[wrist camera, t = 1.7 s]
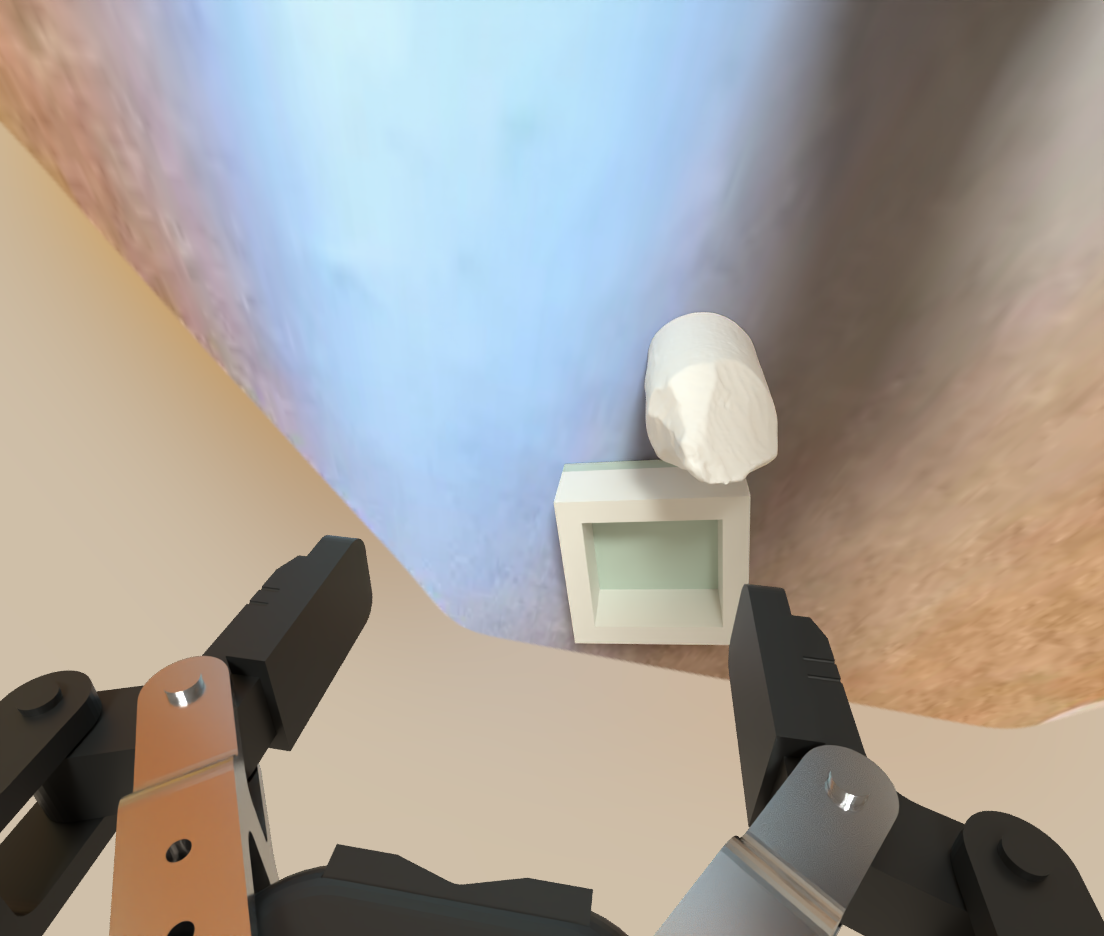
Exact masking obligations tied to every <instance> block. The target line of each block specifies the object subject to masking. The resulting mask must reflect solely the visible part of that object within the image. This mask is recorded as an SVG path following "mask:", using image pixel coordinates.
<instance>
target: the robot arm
mask: <svg viewBox="0 0 1104 936" xmlns="http://www.w3.org/2000/svg"><path fill="white" fill-rule="evenodd" d="M371 606H372V589H371V583H370V576H369V570H368V563H367V556H366V550H365V545H364V543H363V541H362V540H361V539H357V538H348V537H339V536H330V535H326V536H324V537H323V538H322V539H321V540H320V541H319V542H318V543H317V545H316V546H315V547H314V548H313V550H312V551H311V552H310V553H309V554H308V556H297V557H296V558H294V559H293V560H291V561H289V562H288V563H286V564H284V565H283V566H281V567H280V568H278V569H277V570H276V571H275V572H274V573H273V574H272V575H271V577H270V578H269V579H268V580H267V581H266V582H265V584H264V585H263V586H262V589H261V590H259V591H258V592H257V593H256V594H255V595H254V596H253V597H252V598H251V600H250V603H249V604H246V605H245V607H244V608H243V609H242V610H241V611H240V612H239V614H238V615H237V616H236V617H235V618H234V619H233V621H232V622H231V623H230V624H229V625H228V626H227V628H226V629H225V630H224V631H223V632H222V633H221V634H220V636H219V637H218V638H217V639H216V640H215V641H214V643H213V644H212V645H211V646H210V647H209V648H208V650H207V651H206V652H205V653H204V654H203V655H202V656H195V657H190V658H186V659H182V660H180V661H177V662H175V663H172V664H170V665H168V666H166V667H165V668H163V669H161V670H160V671H159V672H157V673H156V674H155V675H153V676H152V677H151V678H150V679H149V680H148V681H147V682H146V684H145V685H144V686H137V687H130V688H121V689H113V690H106V691H98V692H96V690H95V688H94V686H93V684H92V682H91V680H90V679H89V677H88V676H87V675H86V674H84V673H81V672H78V671H59V672H54V673H50V674H47V675H43V676H40V677H38V678H35V679H33V680H31V681H29V682H27V683H25V684H23V685H21V686H20V687H18V688H17V689H15V690H14V691H12V692H11V693H9V694H8V695H7V696H6V697H5V698H3V699H2V700H1V701H0V832H1V831H2V830H3V829H4V828H5V827H6V825H7V824H8V823H9V822H10V821H11V820H12V819H13V818H14V816H15V815H16V814H17V813H18V812H19V811H20V809H21V808H22V807H23V806H24V805H25V804H26V803H27V801H28V800H29V799H30V798H31V797H32V796H33V795H34V797H35V799H36V800H37V802H36V803H35V804H34V806H33V807H32V808H31V809H30V810H29V812H28V813H27V814H26V815H25V816H24V817H23V819H22V820H21V821H20V822H19V823H18V824H17V826H16V827H15V828H14V829H13V830H12V831H11V833H10V834H9V835H8V836H7V837H6V838H5V840H4V841H3V842H2V843H1V844H0V936H42V935H43V934H44V932H45V931H46V930H47V928H48V927H49V925H50V924H51V922H52V921H53V920H54V918H55V917H56V915H57V914H58V913H59V911H60V910H61V908H62V907H63V905H64V904H65V903H66V901H67V900H68V898H69V897H70V896H71V894H72V893H73V891H74V890H75V889H76V887H77V886H78V884H79V883H80V882H81V880H82V879H83V877H84V876H85V874H86V873H87V872H88V870H89V869H90V867H91V866H92V864H93V863H94V862H95V860H96V859H97V857H98V856H99V855H100V853H101V852H102V850H103V849H104V848H105V846H106V845H107V843H108V842H109V840H110V839H111V838H112V836H113V835H114V833H115V832H116V842H115V857H114V872H113V887H112V901H111V916H110V931H109V936H628V935H627V934H626V933H625V932H623V931H622V930H621V929H620V928H619V927H617V926H616V925H614V924H613V923H611V922H610V921H609V920H607V919H606V918H604V917H602V916H600V915H598V914H596V913H594V912H592V911H591V903H592V893H593V890H592V889H587V888H582V887H576V886H570V885H565V884H559V883H554V882H548V881H542V880H536V879H531V878H523V879H513V880H502V881H493V882H483V883H475V884H466V885H465V884H464V885H459V884H454V883H451V882H449V881H447V880H445V879H443V878H441V877H439V876H437V875H435V874H434V873H432V872H429V871H428V870H426V869H424V868H422V867H420V866H418V865H416V864H414V863H412V862H410V861H408V860H406V859H404V858H402V857H401V856H399V855H396V854H390V853H384V852H379V851H373V850H368V849H362V848H356V847H350V846H345V845H339V844H337V845H336V847H335V850H334V852H333V854H332V856H331V858H330V861H329V863H328V865H327V866H320V867H316V868H312V869H308V870H304V871H301V872H298V873H295V874H293V875H290V876H287V877H285V878H283V879H281V880H279V877H278V873H277V869H276V865H275V860H274V855H273V849H272V842H271V835H270V828H269V822H268V815H267V807H266V801H265V794H264V787H263V780H262V773H261V768H260V765H259V762H260V760H261V758H262V757H263V755H264V754H265V752H266V750H267V749H268V748H273V749H280V750H286V751H291V749H292V748H293V746H294V744H295V743H296V741H297V739H298V738H299V736H300V734H301V732H302V731H303V729H304V727H305V726H306V724H307V722H308V721H309V719H310V717H311V716H312V714H313V712H314V710H315V709H316V707H317V705H318V704H319V702H320V700H321V699H322V697H323V695H324V694H325V692H326V690H327V688H328V687H329V685H330V683H331V682H332V680H333V678H334V677H335V675H336V673H337V671H338V669H339V668H340V666H341V665H342V663H343V661H344V660H345V658H346V656H347V655H348V653H349V651H350V649H351V648H352V646H353V644H354V643H355V641H356V639H357V638H358V636H359V634H360V633H361V631H362V629H363V627H364V626H365V624H366V622H367V620H368V618H369V615H370V611H371ZM834 661H835V660H834V657H833V654H832V651H831V648H830V644H829V641H828V638H827V637H826V636H825V635H824V633H823V632H822V631H821V630H820V629H819V628H818V626H817V625H816V624H815V623H814V622H813V621H812V619H811V618H810V617H801V616H793V615H791V611H790V608H789V604H788V600H787V597H786V593H785V591H784V589H783V588H777V587H768V586H759V585H751V584H744V585H743V587H742V590H741V594H740V599H739V603H738V608H737V612H736V616H735V621H734V625H733V630H732V634H731V639H730V645H729V660H728V663H729V676H730V684H731V691H732V699H733V707H734V716H735V723H736V731H737V739H738V747H739V754H740V762H741V771H742V778H743V786H744V794H745V802H746V810H747V818H748V825H749V827H750V828H749V829H748V831H747V832H746V833H745V834H744V835H743V836H742V837H741V838H739V837H738V836H734V837H732V838H731V839H730V840H729V841H728V842H727V843H726V844H725V845H724V846H723V848H722V849H721V850H720V852H719V853H718V854H717V855H716V857H715V858H714V859H713V860H712V862H711V863H710V864H709V866H708V867H707V868H706V869H705V871H704V872H703V873H702V875H701V876H700V877H699V878H698V880H697V881H696V882H695V884H694V885H693V886H692V887H691V889H690V890H689V891H688V893H687V894H686V895H685V897H684V898H683V899H682V901H681V902H680V903H679V904H678V905H677V907H676V908H675V909H674V911H673V912H672V913H671V914H670V916H669V917H668V918H667V920H666V921H665V922H664V923H663V925H662V926H661V927H660V928H659V930H658V931H657V932H656V934H655V935H654V936H837V934H838V933H839V931H840V929H841V927H842V925H845V926H847V927H849V928H851V929H853V930H855V931H856V932H858V933H860V934H862V935H864V936H1104V921H1103V919H1102V917H1101V915H1100V913H1099V911H1098V909H1097V907H1096V905H1095V903H1094V901H1093V899H1092V897H1091V895H1090V893H1089V891H1088V890H1087V888H1086V885H1085V883H1084V881H1083V879H1082V878H1081V876H1080V873H1079V872H1078V870H1077V868H1076V866H1075V865H1074V863H1073V862H1072V861H1071V859H1070V858H1069V856H1068V855H1067V854H1066V853H1065V852H1064V851H1063V849H1061V847H1060V846H1059V845H1058V844H1057V843H1056V842H1055V841H1053V840H1052V839H1051V838H1050V837H1049V836H1048V835H1046V834H1045V833H1043V832H1042V831H1041V830H1040V829H1038V828H1036V827H1035V826H1033V825H1032V824H1030V823H1028V822H1026V821H1024V820H1022V819H1020V818H1018V817H1015V816H1012V815H1010V814H1006V813H1002V812H997V811H982V812H978V813H976V814H974V815H972V816H971V817H970V818H969V819H968V820H967V821H966V823H965V824H963V823H960V822H958V821H956V820H953V819H951V818H949V817H946V816H944V815H942V814H939V813H937V812H935V811H932V810H930V809H928V808H925V807H923V806H921V805H919V804H916V803H914V802H912V801H910V800H908V799H907V798H905V797H904V796H902V795H901V794H899V793H898V792H897V791H896V790H895V788H894V786H893V784H892V782H891V781H890V779H889V778H888V776H887V775H886V774H885V773H884V772H883V771H882V769H880V767H879V766H877V765H876V764H875V763H874V762H873V761H871V760H870V759H868V758H867V756H866V754H865V751H864V748H863V745H862V742H861V739H860V736H859V733H858V730H857V727H856V724H855V721H854V718H853V715H852V712H851V709H850V705H849V702H848V699H847V696H846V693H845V690H844V687H843V684H842V683H841V682H840V679H841V678H840V675H839V672H838V669H837V666H836V665H835V664H834Z"/></svg>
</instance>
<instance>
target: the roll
mask: <svg viewBox="0 0 1104 936" xmlns="http://www.w3.org/2000/svg"><path fill="white" fill-rule="evenodd" d="M644 388H645V393H646V428H647V433H648V437H649V440H650V442H651V444H652V447H653V448H654V450H655V452H656V454H657V456H658V457H659V458H660V459H661V460H663V461H665V462H668V463H670V464H673V465H675V466H678V467H679V468H681V469H685V470H687V471H688V472H689V473H690V474H691V475H692V476H693V477H695V478H696V479H697V480H698V481H700V482H705V483H707V484H718V483H723V484H725V485H726V484H728V483H730V482H739V481H742V480H744V479H745V478H746V476H747V475H748V474H749V473H750V472H752V471H755V470H756V469H758V468H760V467H763V466H765V465H767V464H768V463H770V462H771V461H772V460H774V459H775V458H776V456H777V453H778V429H777V427H778V420H777V414H776V410H775V406H774V403H773V399H772V397H771V394H770V391H769V388H768V385H767V382H766V379H765V377H764V374H763V371H762V368H761V366H760V363H759V360H758V358H757V354H756V351H755V348H754V346H753V343H752V341H751V339H750V337H749V336H748V335H747V334H746V333H745V331H744V330H743V329H741V328H740V327H739V326H738V325H737V324H736V323H735V322H734V321H732V320H730V319H729V318H727V317H725V316H722V315H719V314H716V313H708V312H699V313H690V314H687V315H684V316H680V317H678V318H676V319H674V320H672V321H670V322H669V323H667V324H666V325H665V326H663V327H662V328H661V329H660V330H659V331H658V332H657V333H656V334H655V336H654V337H653V339H652V341H651V343H650V347H649V350H648V364H647V370H646V376H645V385H644Z"/></svg>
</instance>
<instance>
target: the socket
mask: <svg viewBox="0 0 1104 936" xmlns="http://www.w3.org/2000/svg"><path fill="white" fill-rule="evenodd" d="M750 497H751V496H750V492H749V488H748V484H747V480H746V478H745V479H744V480H742V481H739V482H730V483H728V484H726V485H725V484H723V483H718V484H707V483H705V482H700V481H698V480H697V479H696V478H695V477H693V476H692V475H691V474H690V473H689V472H688V471H687V470H685V469H681V468H679V467H678V466H675V465H673V464H670V463H668V462H665V461H663V460H641V461H619V462H597V463H575V464H564V468H563V472H562V475H561V479H560V482H559V486H558V489H557V493H556V496H555V500H554V508H555V514H556V521H557V527H558V534H559V540H560V547H561V554H562V560H563V567H564V573H565V580H566V586H567V593H568V599H569V606H570V613H571V619H572V626H573V632H574V639H575V643H600V644H680V645H730V639H731V634H732V630H733V625H734V621H735V616H736V612H737V608H738V603H739V599H740V594H741V590H742V587H743V585H744V584H749V544H750Z"/></svg>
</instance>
